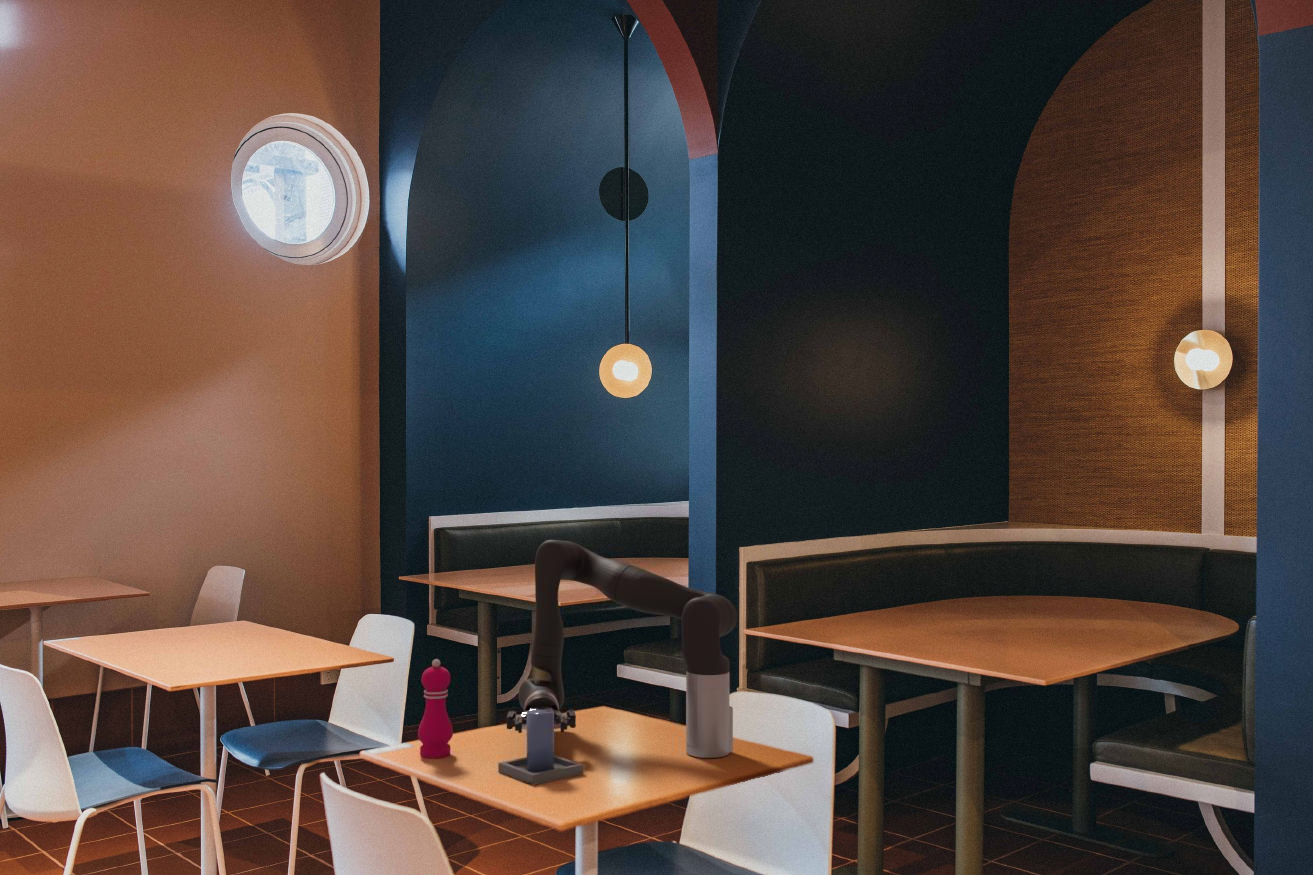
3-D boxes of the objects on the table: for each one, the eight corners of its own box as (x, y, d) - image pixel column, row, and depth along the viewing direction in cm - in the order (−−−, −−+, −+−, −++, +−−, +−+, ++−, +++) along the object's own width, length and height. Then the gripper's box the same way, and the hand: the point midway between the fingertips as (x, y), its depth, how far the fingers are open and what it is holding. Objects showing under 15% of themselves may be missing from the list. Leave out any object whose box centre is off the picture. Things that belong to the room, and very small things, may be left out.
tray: (548, 761, 222) (548, 752, 222) (583, 773, 213) (583, 764, 213) (498, 771, 214) (498, 762, 214) (532, 784, 205) (532, 775, 205)
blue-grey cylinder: (543, 763, 218) (543, 708, 218) (559, 768, 213) (559, 712, 214) (521, 768, 214) (521, 712, 215) (536, 773, 210) (536, 716, 210)
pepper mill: (459, 752, 229) (460, 657, 230) (438, 760, 223) (440, 662, 224) (431, 748, 232) (432, 655, 233) (410, 756, 226) (411, 660, 227)
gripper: (508, 693, 234) (506, 709, 218) (574, 692, 235) (576, 708, 219) (508, 728, 233) (505, 746, 217) (574, 726, 235) (576, 745, 219)
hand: (541, 727), depth 218 cm, fingers open, 8 cm apart
